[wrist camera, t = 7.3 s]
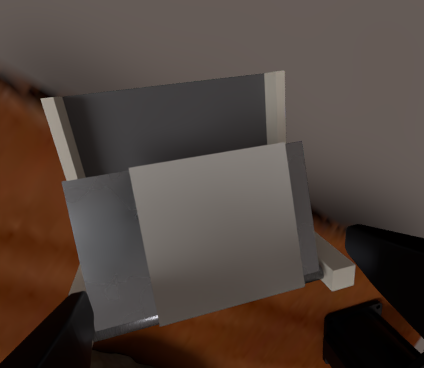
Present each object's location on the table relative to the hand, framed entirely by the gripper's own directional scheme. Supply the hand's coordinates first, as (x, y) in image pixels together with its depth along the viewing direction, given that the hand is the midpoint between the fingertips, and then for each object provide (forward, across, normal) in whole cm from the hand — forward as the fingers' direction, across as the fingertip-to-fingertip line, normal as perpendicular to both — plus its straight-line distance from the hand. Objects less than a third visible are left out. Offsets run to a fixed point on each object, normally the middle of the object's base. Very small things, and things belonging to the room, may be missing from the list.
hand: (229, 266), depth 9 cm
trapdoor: (+5, 0, +2) cm, 6 cm away
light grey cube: (+5, 0, 0) cm, 5 cm away
